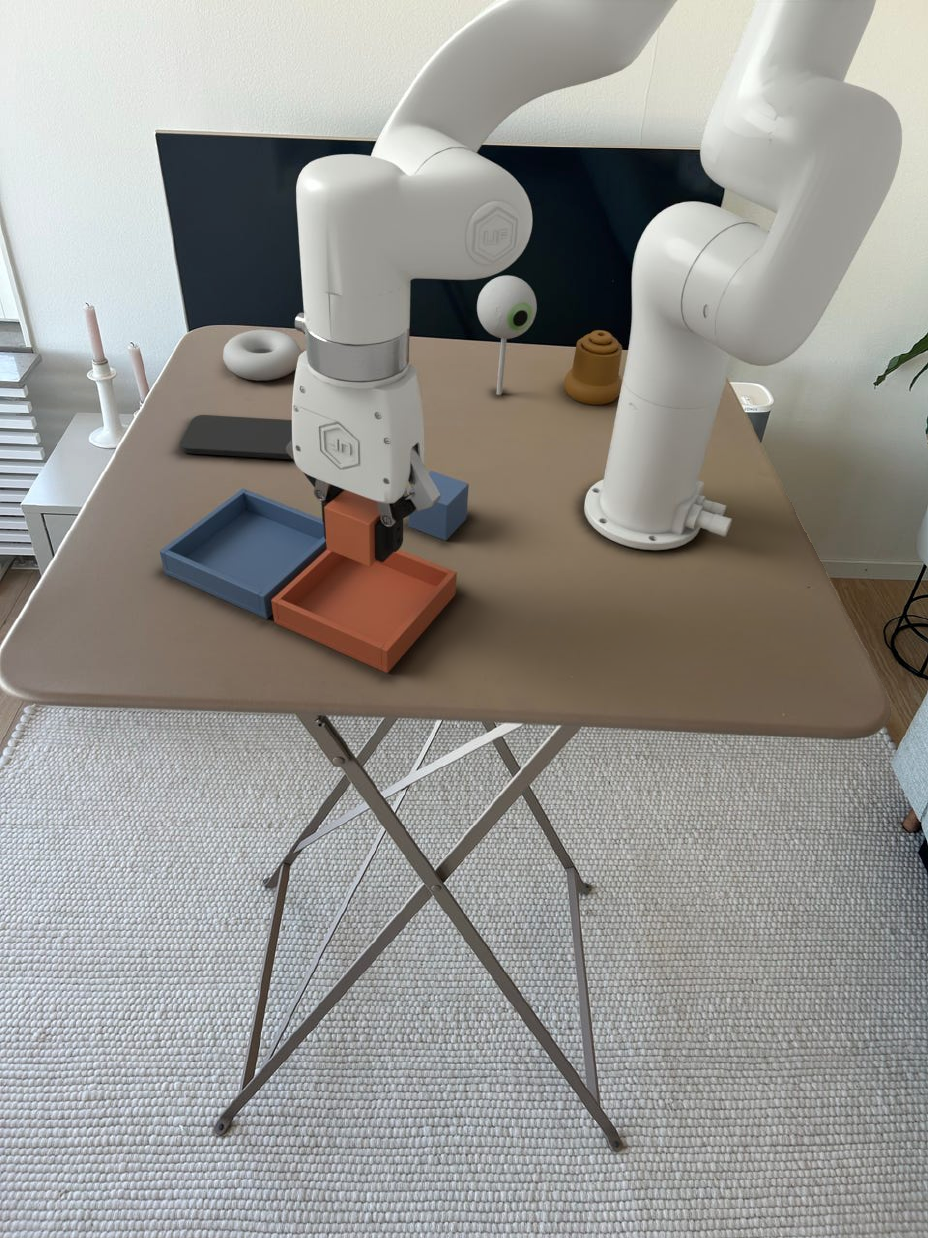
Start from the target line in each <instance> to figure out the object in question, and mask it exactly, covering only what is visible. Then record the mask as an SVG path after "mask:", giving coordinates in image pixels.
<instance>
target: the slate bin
mask: <svg viewBox="0 0 928 1238" xmlns="http://www.w3.org/2000/svg"><path fill="white" fill-rule="evenodd" d="M326 550H327V543H326V540H325V538H324V524H323V521H322V518H320V517H317V516H315V515H312V514H310V513H308V512H304V511H302V510H301V509H300V510H299V509H297V508H294V507H292V506H289V505H287V504H284V503H281V502H279V501H276V500H274V499H272V498H269V497H266V496H264V495H261V494H258V493H256V492H253V491H251V490H248V489H247V488H243V487H242V488H241V489H239V490H238V491H237V492H236V493H235V494H233V495H232V496H231V497H229V498H228V499H227V500H226V501H224V502H223V503H221V504H220V505H219V506H217V507H216V508H215V509H214V510H212V511H210V512H209V513H208V514H207V515H205V516H204V517H203V518H201V519H200V520H199V521H198V522H196V523H195V524H193V525H192V526H191V527H189V528H188V529H187V530H185V531H184V532H183V533H182V534H180V535H179V536H177V538H175V539H174V540H172V541H171V542H170V543H168V544H167V545H166V546H165V547H162V549H160V550H159V555H160V560H161V563H162V568H163V571H164V575H167V576H169V577H171V578H174V579H176V580H178V581H180V582H182V583H185V584H187V585H189V586H192V587H194V588H196V589H198V590H201V591H203V592H205V593H207V594H210V595H212V596H214V597H216V598H219V599H220V600H223V601H225V602H227V603H230V604H232V605H234V606H236V607H238V608H241V609H243V610H244V611H247V612H250V613H252V614H254V615H256V616H259V617H261V618H263V619H265V620H268V619H269V618H270V617H272V616H273V609H272V602H271V600H272V599H273V598H274V597H275V596H276V595H278V594H279V593H280V592H281V591H282V590H283V589H284V588H285V587H286V586H287V585H288V584H290V583H291V582H292V581H293V580H294V579H295V578H296V577H297V576H298V575H299V574H300V573H302V572H303V571H304V570H305V569H306V568H307V567H308V566H309V565H310V564H311V563H313V562H314V561H315V560H316V559H317V558H318V557H319V556H320V555H321V554H322V553H323V552H325V551H326Z"/></svg>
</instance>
